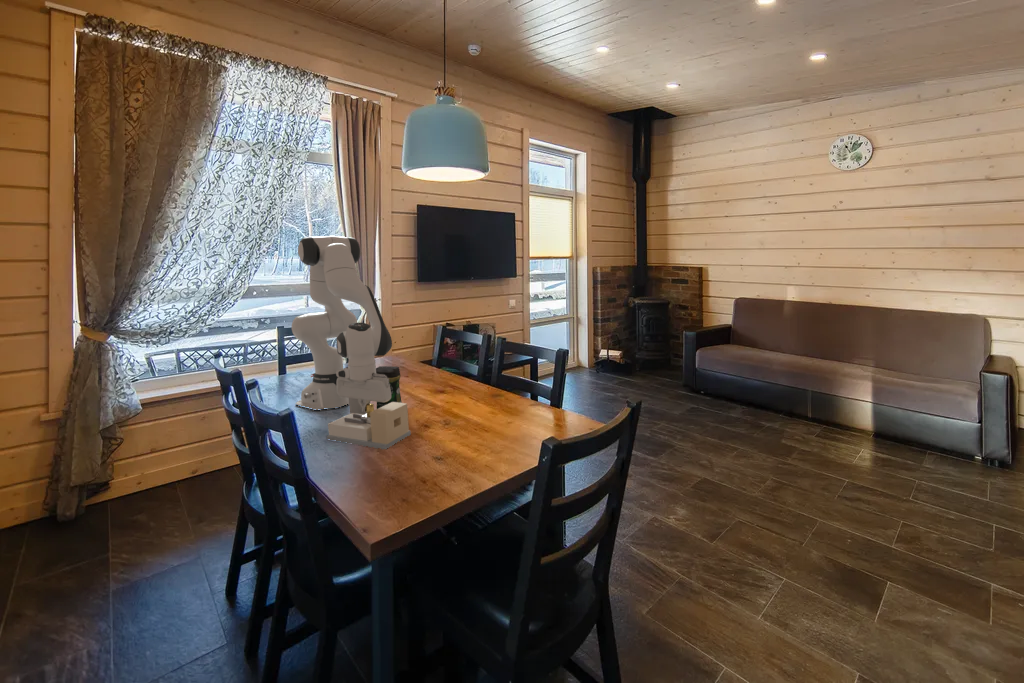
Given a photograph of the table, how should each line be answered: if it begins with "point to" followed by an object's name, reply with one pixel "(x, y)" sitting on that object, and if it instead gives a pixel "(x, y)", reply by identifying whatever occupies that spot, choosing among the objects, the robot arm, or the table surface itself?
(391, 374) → the coffee jar
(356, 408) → the can
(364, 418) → the bolt
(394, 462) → the table surface
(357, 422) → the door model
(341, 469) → the table surface
